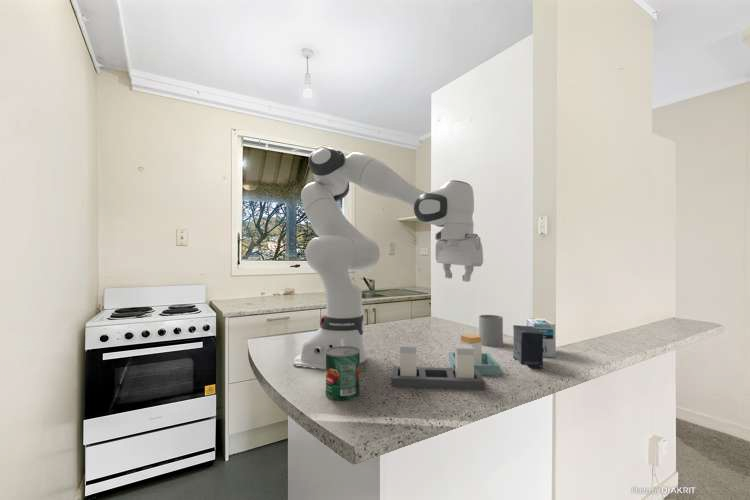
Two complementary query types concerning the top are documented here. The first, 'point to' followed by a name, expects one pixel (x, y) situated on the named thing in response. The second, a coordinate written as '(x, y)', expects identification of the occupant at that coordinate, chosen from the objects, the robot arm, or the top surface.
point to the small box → (528, 346)
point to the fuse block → (437, 379)
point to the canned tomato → (342, 373)
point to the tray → (483, 369)
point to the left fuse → (408, 359)
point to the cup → (491, 330)
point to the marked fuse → (475, 343)
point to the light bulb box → (545, 335)
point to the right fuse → (464, 361)
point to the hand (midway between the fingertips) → (457, 279)
